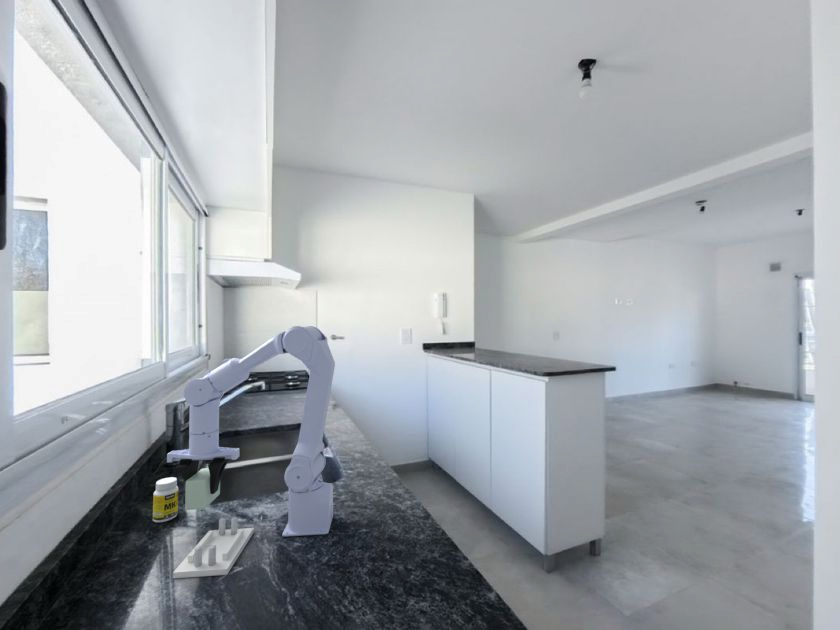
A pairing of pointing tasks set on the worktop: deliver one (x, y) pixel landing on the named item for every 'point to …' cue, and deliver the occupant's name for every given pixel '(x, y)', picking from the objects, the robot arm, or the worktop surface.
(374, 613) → the worktop surface
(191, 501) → the block
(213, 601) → the worktop surface
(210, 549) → the tray
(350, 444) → the worktop surface
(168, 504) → the supplement bottle
